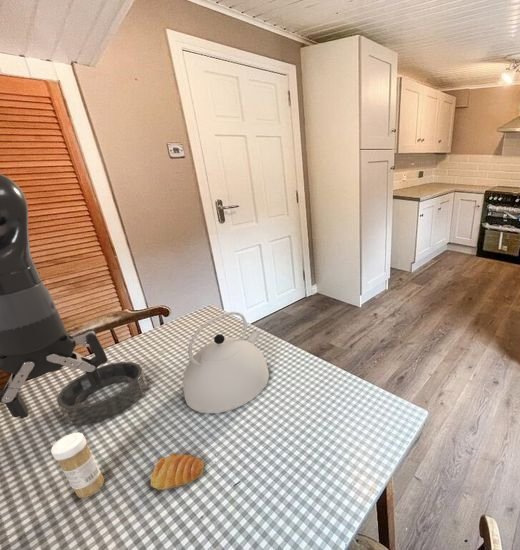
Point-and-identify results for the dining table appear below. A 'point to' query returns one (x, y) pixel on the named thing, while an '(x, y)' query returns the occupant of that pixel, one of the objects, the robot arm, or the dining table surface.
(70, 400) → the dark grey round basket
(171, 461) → the pastry
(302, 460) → the dining table surface
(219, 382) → the kettle
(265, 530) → the dining table surface
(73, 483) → the sprinkles bottle
